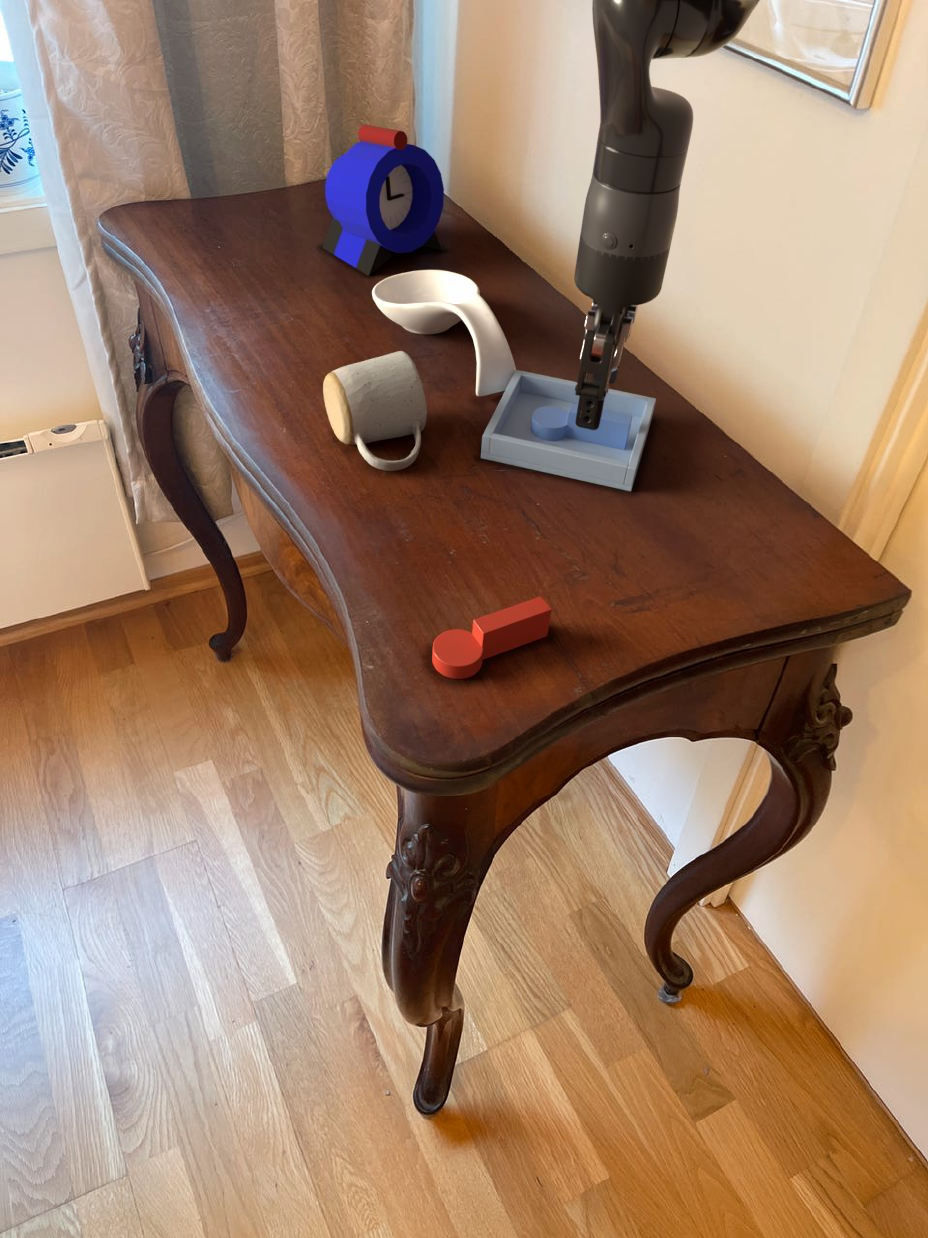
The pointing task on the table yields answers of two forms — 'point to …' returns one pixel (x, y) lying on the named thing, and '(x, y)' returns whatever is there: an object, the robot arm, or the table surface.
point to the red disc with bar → (490, 638)
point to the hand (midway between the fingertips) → (595, 402)
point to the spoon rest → (449, 318)
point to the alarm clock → (382, 199)
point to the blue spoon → (562, 424)
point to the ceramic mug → (377, 405)
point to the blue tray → (565, 457)
